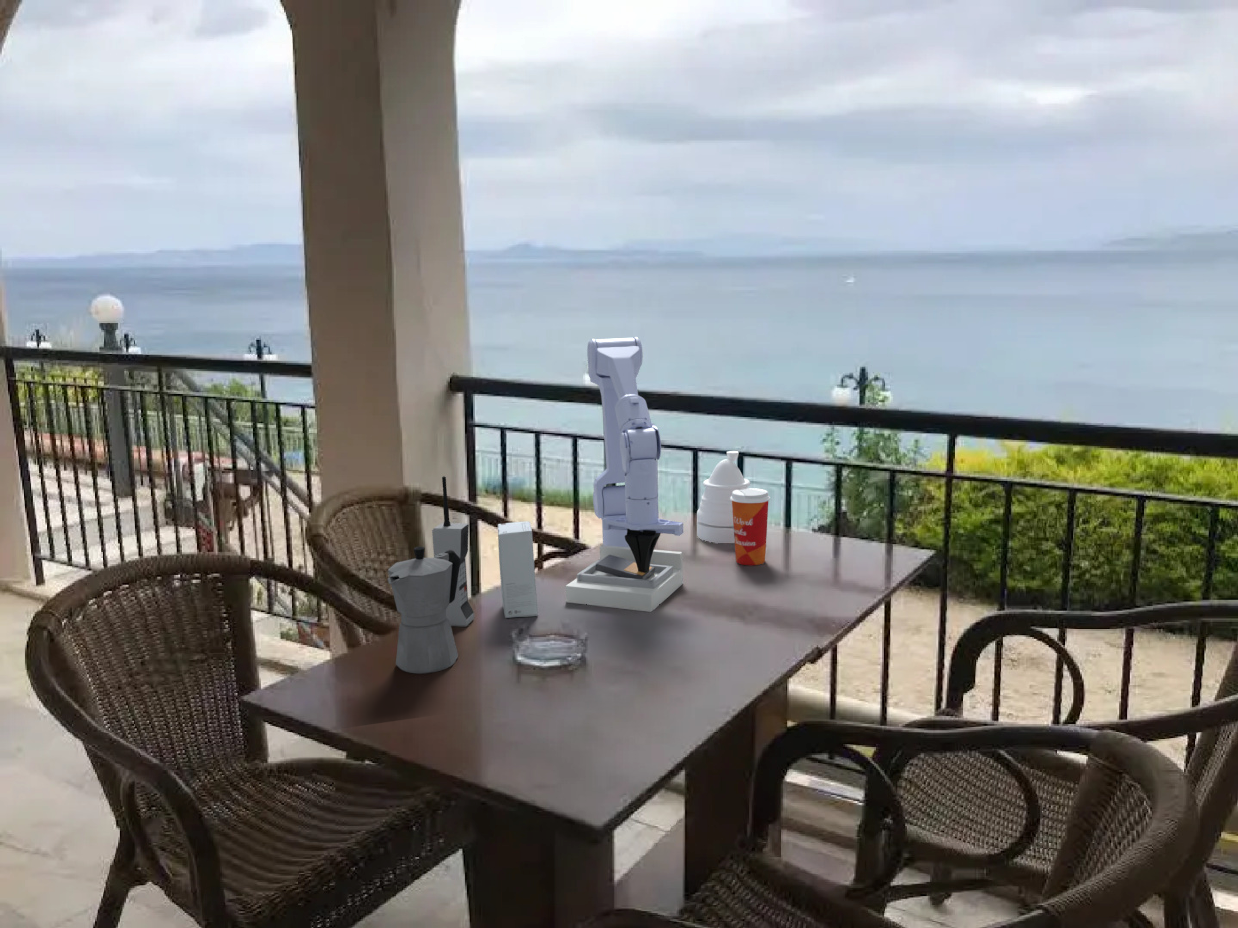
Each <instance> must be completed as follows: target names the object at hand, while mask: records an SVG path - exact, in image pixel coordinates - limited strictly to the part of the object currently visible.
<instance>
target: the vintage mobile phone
mask: <svg viewBox="0 0 1238 928" xmlns="http://www.w3.org/2000/svg"><path fill="white" fill-rule="evenodd" d="M441 480H442V481H441V483H442V497H443V505H442V506H443V507H442V508H443V509H442V510H443V522H441V523H440V524H438V525H437V526H435V527H434V528H432V530H431V531H432V532H431V533H432V534H431V535H432V536H431V537H432V547H433V558H435V555H437V554H440V553H445V552H446V551H448V550H453V551H454V552H455V553H456V554H457V555H458V556H459V558H460V569H459V574H458V582H457V588H456V594H455V599H454V601H453V602H451V603H450V604H449V605H448V607H447V609H446V615H447V618H448V619H449V621H450V625H451V627H465V628H467V627H468V626H469V624H470V623H471V622H472V621H473V620H474V619H475V612H474V610H473V608H472V606H471V605H470V602H469V595H468V593H469V592H468V580H467V579H468V577H467V566H466V557H467V555H468V551H469V528H470V527H469V523H467V522H466V523H465V522H463V523H462V522H457V523H456V522H450V508H449V504H448V492H447V491H448V490H447V476H445V475H443V476H442V477H441Z"/></svg>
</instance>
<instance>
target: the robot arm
mask: <svg viewBox="0 0 1238 928" xmlns="http://www.w3.org/2000/svg"><path fill="white" fill-rule="evenodd" d="M586 351H587V367H588V377H589V381H590V383H593V384H595V385H597V386H598V388H599V392H600V396H601V397H600V398H601V407H602V409H601V410H602V423H603V439H604V450H605V464H606V465H605V467H606V469H604V470H603V471H602V472H601V473H600V474H598V476H596V478H595V479H594V481H593V483H592V485H593V494H592V502H593V503H592V505H593V509H594V510H593V511H594V514H595V516H596V517H597V518H598V519H601V524H602V525H601V528H602V532H601V533H602V545H607V546H618V547H630V549H631V551H632V553H633V555H634V558H635V561H636V564H637V568H638V571H640V572H643V573H646V572H647V571H649V567H650V561H651V557H652V554H653V550H655V547H656V545H657V544H658V543H657V542H658V541H659V538H660V537H661V534H667V535H674V536H678V537H679V536H681V535H683V534H684V522H682V521H681V522H680V521H675V520H674V521H673V520H669V519H664V518H659V485H658V484H659V482H658V481H659V480H658V461H659V460H660V459H661V453H662V441H661V435H660V431H659V429H658V427H657V426H656V423H654V422H652V419H651V416H650V412H649V409H648V404H647V401H646V399H645V398H644V397H642V396H640V395H639V392H638V391H639V390H638V386H637V384H638V383H637V379H636V378H637V376H638V375H639V372H640V370H641V367H642V365H643V356H644V355H643V354H644V353H643V345H642V341H641V340H640V338H638V336H633V337H622V338H621V337H619V338H618V337H617V338H615V337H614V338H599V339H598V338H597V339H596V338H590V340H589V341H588V343H587V350H586ZM620 483H622V484H623V483H624V484H623V485H622V484H620ZM609 484H618V485H609ZM619 484H620V485H619ZM606 485H607V486H606Z"/></svg>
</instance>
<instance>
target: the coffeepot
mask: <svg viewBox="0 0 1238 928" xmlns="http://www.w3.org/2000/svg"><path fill="white" fill-rule="evenodd" d="M425 549H426V547H425V546H420V545H419V546H416V547H414V548H413V552H414V557H415V558H412V559H407V560H403V561H402V560H401V561H398V562H395V563H394V564H393V565H391V566H390V567H389V568H388V569H387V573H388V578H387V582H388V584H389V585H390V586H391V589H392V594H393V598H394V602H395V607H396V611H397V612H398V613H400V624H399V628H398V635H397V636H398V638H397V648H396V649H397V650H396V656H395V657H396V658H395V665H396V666H397V667H398V669H400V670H401V671H403V672H406V673H410V674H430V673H436V672H439V671H443V670H446V669H448V668H450V667H452V666H453V665H454V664H455V663H456V661H457V659H458V657H459V653H458V649H457V646H456V642H455V638H454V634H453V629H452V626H451V625H450V621H449V619H448V618H447V615H446V609H447V607H448V605H449V604H450V603H451V602H453V601H454V599H455V594H456V588H457V582H458V574H459V569H460V558H459V556H458V555H457V554H456V553H455V552H454V551H453V550H448V551H446V552H445V553H440V554H437V555H435V558H434V557H425Z"/></svg>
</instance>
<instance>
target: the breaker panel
mask: <svg viewBox="0 0 1238 928" xmlns="http://www.w3.org/2000/svg"><path fill="white" fill-rule="evenodd" d="M608 555H613V556H617V557H620V558H624V559H627V560H631V561H635V558H634V555H633V553H632V551H631V549H630V547H618V546H607V545H603V544H602V545H600V546H599V559H597V560H596V561H595V562H594V561H593V563H591V564H590V565H588V566H587V567H586V568H584V569H583V570H581V571H580V572H578V573H577V574H576V578H575V579H574V580H572V581H571V582H569V583H568V584H566V585H565V599H566V600H565V602H566V603H568V604H569V603H570V604H580V605H586V604H587V606H596V607H605V608H615V609H624V610H630V611H631V610H632V611H638V612H639V611H640V612H649V613H652V612H653V611H654V610H655V609H656V608H658V607H659V606H660V605H661V604H662V603H664V601H666V600H667V598H669V597H670V596H671V595H672V594H673V593H674V592H675V591H677V590H678V589H679V588H680V587H681V586H683V584H684V569H683V568H684V567H683V566H684V565H683V564H684V563H683V561H684V559H683V551H674V550H663V549H654V550H653V554H652V557H651V561H650V566H653V567H655V571H654V574H653V575H652V576H650V577H649V578H648V579H647V580H643V579H633V578H623V577H618V576H614V575H611V574H607V573H604V572H600V571H597V570H595V567H596V563H598V562H599V561H601V560H602V559H604V558H605V557H607V556H608ZM635 562H636V561H635ZM659 604H660V605H659Z"/></svg>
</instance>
